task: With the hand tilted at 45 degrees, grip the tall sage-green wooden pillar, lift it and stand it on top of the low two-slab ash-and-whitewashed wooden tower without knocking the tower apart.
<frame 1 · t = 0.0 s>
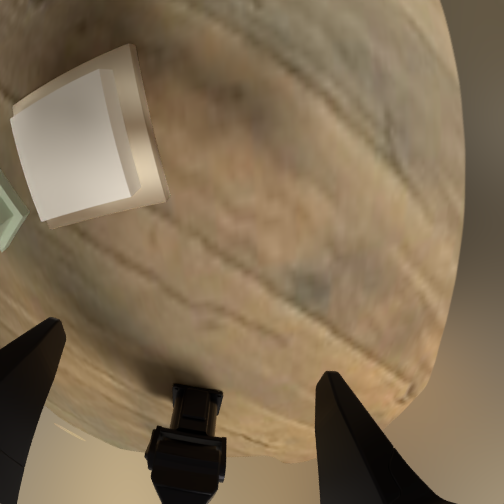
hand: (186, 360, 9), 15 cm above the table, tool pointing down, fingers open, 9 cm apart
ash base slab: (89, 140, 19), on the table
sage pillar: (0, 206, 21), on the table
whitewashed top slab: (76, 146, 18), point 1 cm above the table
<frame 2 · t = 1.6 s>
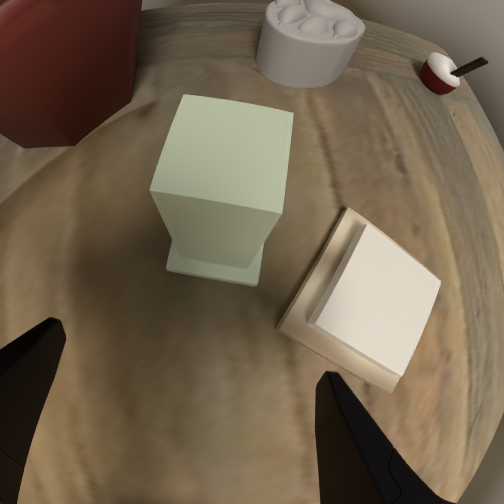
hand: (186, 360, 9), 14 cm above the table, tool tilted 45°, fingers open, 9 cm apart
cocoa: (430, 86, 34), on the table
ash base slab: (363, 304, 25), on the table
bucket: (77, 90, 26), on the table
white paw print block: (299, 60, 30), on the table
sage pillar: (219, 236, 24), on the table
whitewashed top slab: (375, 303, 23), point 1 cm above the table
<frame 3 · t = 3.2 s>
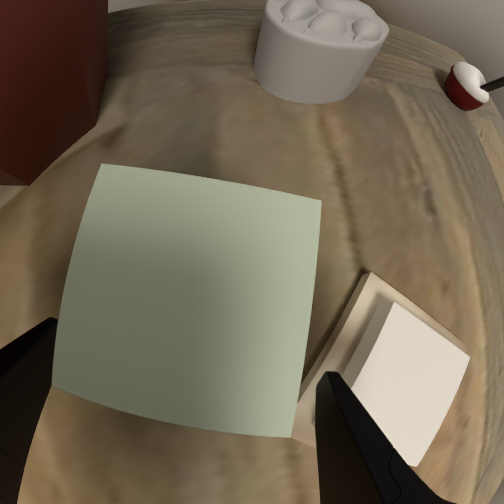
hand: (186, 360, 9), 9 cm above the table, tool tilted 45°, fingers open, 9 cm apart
cocoa: (455, 100, 28), on the table
ash base slab: (379, 384, 19), on the table, touching whitewashed top slab
bucket: (38, 111, 20), on the table
white paw print block: (306, 67, 25), on the table
sage pillar: (203, 316, 18), on the table
whitewashed top slab: (394, 390, 17), point 1 cm above the table, touching ash base slab
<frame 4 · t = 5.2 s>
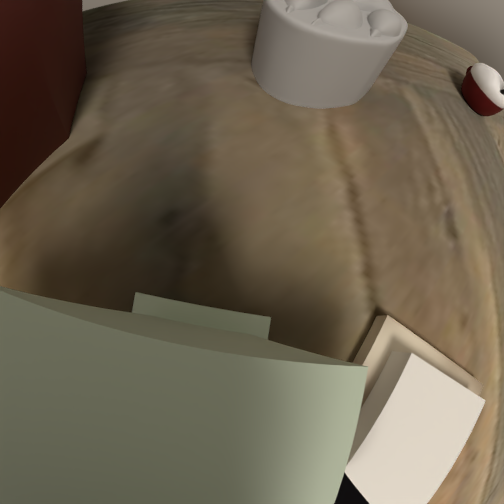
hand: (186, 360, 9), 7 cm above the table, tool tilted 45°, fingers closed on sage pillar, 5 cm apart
cocoa: (472, 104, 25), on the table
ash base slab: (388, 430, 16), on the table, touching whitewashed top slab
bucket: (12, 121, 17), on the table
white paw print block: (313, 65, 22), on the table
sage pillar: (192, 369, 15), on the table, touching gripper
whitewashed top slab: (403, 439, 14), point 1 cm above the table, touching ash base slab
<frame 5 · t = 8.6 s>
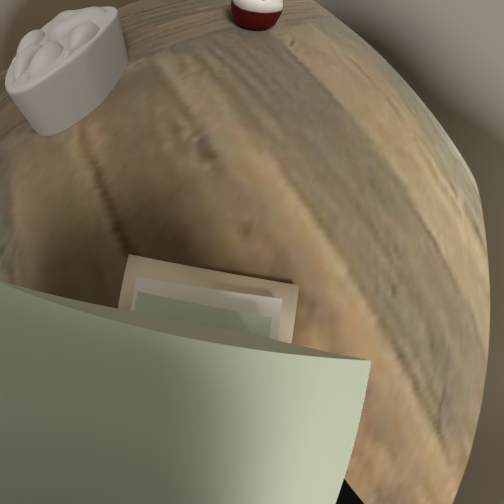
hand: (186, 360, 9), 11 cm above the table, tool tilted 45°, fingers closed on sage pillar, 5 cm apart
cocoa: (253, 25, 28), on the table
ash base slab: (199, 355, 20), on the table, touching whitewashed top slab
white paw print block: (74, 89, 23), on the table
sage pillar: (194, 368, 15), point 5 cm above the table, touching gripper
whitewashed top slab: (199, 358, 18), point 1 cm above the table, touching ash base slab
when the fingers open (11 cm above the table, at t = 8.7 s): sage pillar drops 2 cm, point 3 cm above the table.
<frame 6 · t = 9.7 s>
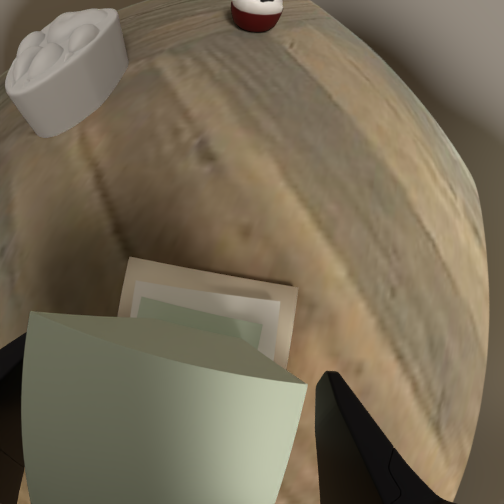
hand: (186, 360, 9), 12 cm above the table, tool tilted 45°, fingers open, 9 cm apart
cocoa: (253, 27, 29), on the table
ash base slab: (199, 356, 20), on the table, touching whitewashed top slab
white paw print block: (74, 91, 24), on the table
sage pillar: (190, 368, 16), point 3 cm above the table
whitewashed top slab: (199, 360, 18), point 1 cm above the table, touching ash base slab
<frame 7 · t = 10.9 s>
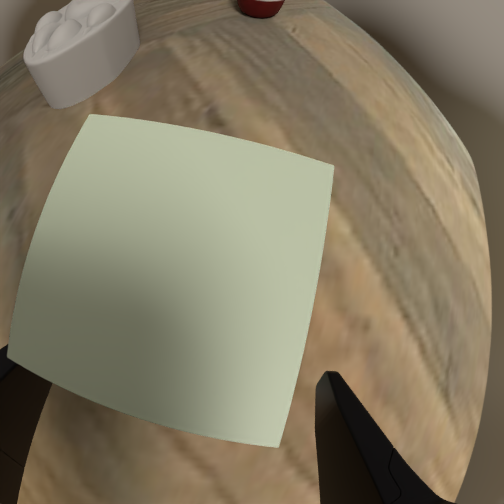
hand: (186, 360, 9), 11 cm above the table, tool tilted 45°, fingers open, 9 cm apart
cocoa: (257, 14, 29), on the table
white paw print block: (88, 68, 24), on the table
sage pillar: (199, 305, 17), point 3 cm above the table
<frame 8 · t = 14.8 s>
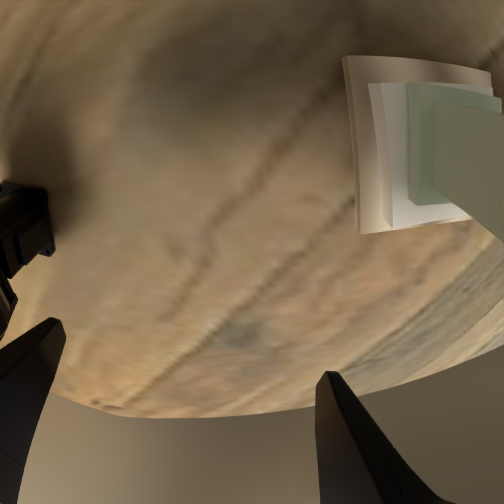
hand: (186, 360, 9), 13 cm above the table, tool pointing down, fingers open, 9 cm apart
ash base slab: (422, 140, 18), on the table, touching whitewashed top slab
sage pillar: (454, 143, 14), point 3 cm above the table, touching whitewashed top slab
whitewashed top slab: (434, 146, 16), point 1 cm above the table, touching ash base slab, sage pillar
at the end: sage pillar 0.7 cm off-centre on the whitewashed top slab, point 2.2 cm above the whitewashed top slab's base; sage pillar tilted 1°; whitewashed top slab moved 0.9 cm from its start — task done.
